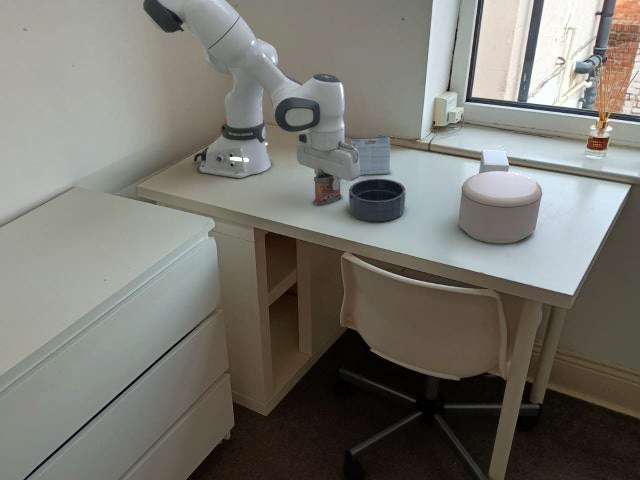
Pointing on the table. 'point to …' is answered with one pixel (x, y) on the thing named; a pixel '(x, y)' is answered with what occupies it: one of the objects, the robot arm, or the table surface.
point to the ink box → (373, 154)
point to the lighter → (325, 189)
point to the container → (499, 206)
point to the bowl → (377, 199)
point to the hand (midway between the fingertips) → (328, 186)
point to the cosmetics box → (493, 161)
